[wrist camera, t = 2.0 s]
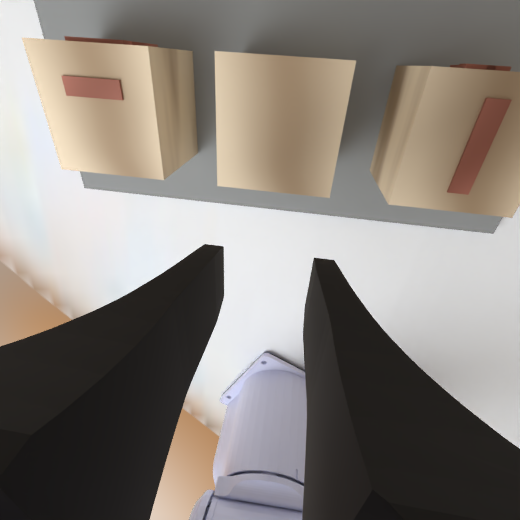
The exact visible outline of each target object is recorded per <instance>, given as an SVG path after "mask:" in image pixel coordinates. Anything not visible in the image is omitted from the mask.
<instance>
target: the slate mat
mask: <svg viewBox="0 0 520 520" xmlns="http://www.w3.org/2000/svg"><path fill="white" fill-rule="evenodd" d="M34 3H35V7H36V10H37V14H38V18H39V21H40V25H41V29H42V32H43V36H44V39H50V40H65V37H64V36H70V37H85V38H100V39H115V40H126V41H133V42H140V43H148V44H156V45H158V47H160V48H169V49H178V50H187V51H193V70H194V88H195V107H196V126H197V145H198V154H196V155H195V156H194V157H193V158H191V159H190V160H189V161H188V162H186V163H185V164H184V165H182V166H181V167H180V168H179V169H177V170H176V171H175V172H174V173H172V174H171V175H170V176H168V177H167V178H166V179H165V180H158V179H149V178H139V177H130V176H121V175H111V174H102V173H93V172H83V171H80V173H81V177H82V180H83V184H84V188H89V189H97V190H106V191H115V192H124V193H133V194H142V195H151V196H160V197H169V198H178V199H187V200H196V201H205V202H214V203H223V204H232V205H241V206H250V207H259V208H268V209H277V210H286V211H295V212H304V213H313V214H321V215H330V216H339V217H348V218H357V219H366V220H375V221H384V222H393V223H402V224H411V225H420V226H429V227H438V228H447V229H456V230H465V231H474V232H483V233H492V234H493V233H494V232H495V230H496V228H497V226H498V224H499V222H500V221H501V219H502V217H500V216H491V215H482V214H472V213H463V212H454V211H444V210H435V209H425V208H416V207H407V206H397V205H388V203H387V201H386V199H385V198H384V196H383V194H382V192H381V190H380V189H379V187H378V185H377V183H376V181H375V179H374V178H373V176H372V174H371V172H370V167H371V163H372V159H373V155H374V151H375V147H376V143H377V139H378V136H379V132H380V128H381V124H382V120H383V116H384V112H385V108H386V105H387V101H388V97H389V93H390V89H391V85H392V81H393V77H394V74H395V70H396V66H397V65H398V66H439V67H450V65H459V64H480V65H495V66H510V67H511V70H510V71H513V72H520V0H34ZM215 51H222V52H237V53H252V54H267V55H282V56H296V57H311V58H326V59H341V60H356V65H355V70H354V75H353V80H352V85H351V90H350V96H349V101H348V106H347V111H346V116H345V121H344V126H343V132H342V137H341V142H340V147H339V152H338V157H337V162H336V167H335V173H334V178H333V183H332V188H331V193H330V198H325V197H315V196H306V195H297V194H287V193H278V192H269V191H259V190H250V189H240V188H231V187H222V186H217V145H216V96H215Z"/></svg>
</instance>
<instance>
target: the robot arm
mask: <svg viewBox="0 0 520 520" xmlns="http://www.w3.org/2000/svg"><path fill="white" fill-rule="evenodd" d="M223 298H224V249H223V246H215V245H207V244H205V245H203V246H202V247H200V248H199V249H197V250H196V251H194V252H193V253H191V254H190V255H189V256H187V257H186V258H184V259H183V260H181V261H180V262H178V263H177V264H176V265H174V266H173V267H171V268H170V269H168V270H167V271H165V272H164V273H162V274H161V275H159V276H157V277H156V278H154V279H152V280H151V281H149V282H147V283H146V284H144V285H142V286H141V287H139V288H137V289H136V290H134V291H132V292H131V293H129V294H127V295H125V296H123V297H121V298H119V299H117V300H115V301H113V302H111V303H109V304H107V305H105V306H103V307H101V308H99V309H97V310H95V311H93V312H90V313H88V314H86V315H83V316H81V317H78V318H76V319H74V320H71V321H69V322H67V323H64V324H62V325H59V326H57V327H54V328H52V329H49V330H47V331H44V332H41V333H39V334H36V335H33V336H30V337H27V338H25V339H22V340H19V341H16V342H13V343H10V344H7V345H4V346H1V347H0V520H149V519H150V515H151V511H152V508H153V504H154V501H155V497H156V494H157V490H158V487H159V483H160V480H161V476H162V472H163V468H164V465H165V462H166V459H167V455H168V452H169V448H170V445H171V442H172V439H173V435H174V432H175V429H176V425H177V422H178V419H179V416H180V413H181V410H182V407H183V403H184V400H185V397H186V394H187V392H188V389H189V386H190V384H191V381H192V379H193V376H194V374H195V372H196V369H197V367H198V365H199V362H200V360H201V358H202V355H203V353H204V351H205V348H206V346H207V344H208V341H209V339H210V337H211V334H212V332H213V330H214V327H215V325H216V322H217V319H218V316H219V312H220V309H221V305H222V301H223ZM303 342H304V361H305V372H304V371H302V370H300V369H298V368H296V367H294V366H293V365H291V364H289V363H287V362H285V361H283V360H281V359H279V358H277V357H275V356H273V355H271V354H269V353H264V354H262V355H261V356H260V357H259V359H258V360H257V361H256V362H255V363H254V364H253V365H252V366H251V367H250V368H249V369H248V370H247V371H246V372H245V373H244V374H243V375H242V376H241V377H240V378H239V379H238V380H237V381H236V382H235V383H234V384H233V385H232V386H231V387H230V388H229V389H228V390H227V391H226V392H225V393H224V394H223V395H222V396H221V398H220V402H221V403H223V404H225V405H227V409H226V414H225V418H224V422H223V426H222V430H221V434H220V438H219V442H218V446H217V450H216V454H215V459H214V464H213V478H214V483H215V486H216V487H215V491H213V490H207V491H206V492H205V493H204V494H203V495H202V496H201V497H200V498H199V499H198V500H197V501H196V503H195V505H194V507H193V509H192V512H191V515H190V517H189V520H520V449H519V448H518V447H516V446H515V445H513V444H512V443H511V442H509V441H508V440H507V439H505V438H504V437H503V436H501V435H500V434H499V433H497V432H496V431H495V430H493V429H492V428H491V427H490V426H488V425H487V424H486V423H485V422H483V421H482V420H481V419H479V418H478V417H477V416H476V415H474V414H473V413H472V412H471V411H469V410H468V409H467V408H466V407H464V406H463V405H462V404H461V403H460V402H458V401H457V400H456V399H455V398H453V397H452V396H451V395H450V394H449V393H448V392H446V391H445V390H444V389H443V388H442V387H441V386H440V385H438V384H437V383H436V382H435V381H434V380H433V379H432V378H431V377H430V376H428V375H427V374H426V373H425V372H424V371H423V370H422V369H421V368H420V367H419V366H418V365H417V364H415V363H414V362H413V361H412V360H411V359H410V358H409V357H408V356H407V355H406V354H405V353H404V352H403V351H402V349H401V348H400V347H399V346H398V345H397V344H396V343H395V342H394V341H393V340H392V339H391V338H390V337H389V336H388V335H387V334H386V332H385V331H384V330H383V329H382V328H381V327H380V325H379V324H378V323H377V322H376V321H375V319H374V318H373V317H372V316H371V314H370V313H369V312H368V310H367V309H366V308H365V306H364V305H363V303H362V302H361V301H360V299H359V298H358V297H357V295H356V294H355V292H354V291H353V289H352V288H351V286H350V285H349V283H348V282H347V280H346V279H345V277H344V275H343V274H342V272H341V270H340V269H339V267H338V265H337V264H336V263H335V261H334V260H328V259H320V258H314V261H313V266H312V272H311V277H310V282H309V288H308V293H307V298H306V304H305V313H304V328H303Z"/></svg>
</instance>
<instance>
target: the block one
mask: <svg viewBox="0 0 520 520" xmlns="http://www.w3.org/2000/svg"><path fill="white" fill-rule="evenodd" d="M510 70H511V67H510V66H495V65H480V64H459V65H450V67H439V66H398V65H397V66H396V70H395V74H394V77H393V81H392V85H391V89H390V93H389V97H388V101H387V105H386V108H385V112H384V116H383V120H382V124H381V128H380V132H379V136H378V139H377V143H376V147H375V151H374V155H373V159H372V163H371V167H370V172H371V174H372V176H373V178H374V179H375V181H376V183H377V185H378V187H379V189H380V190H381V192H382V194H383V196H384V198H385V199H386V201H387V203H388V205H397V206H407V207H416V208H425V209H435V210H444V211H454V212H463V213H472V214H482V215H491V216H500V217H510V218H512V217H513V215H514V213H515V212H516V210H517V208H518V206H519V205H520V72H513V71H510Z"/></svg>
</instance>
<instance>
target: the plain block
mask: <svg viewBox="0 0 520 520" xmlns="http://www.w3.org/2000/svg"><path fill="white" fill-rule="evenodd" d="M355 65H356V60H341V59H326V58H311V57H296V56H282V55H267V54H252V53H237V52H222V51H215V96H216V145H217V186H222V187H231V188H240V189H250V190H259V191H269V192H278V193H287V194H297V195H306V196H315V197H325V198H330V193H331V188H332V183H333V178H334V173H335V167H336V162H337V157H338V152H339V147H340V142H341V137H342V132H343V126H344V121H345V116H346V111H347V106H348V101H349V96H350V90H351V85H352V80H353V75H354V70H355Z"/></svg>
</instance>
